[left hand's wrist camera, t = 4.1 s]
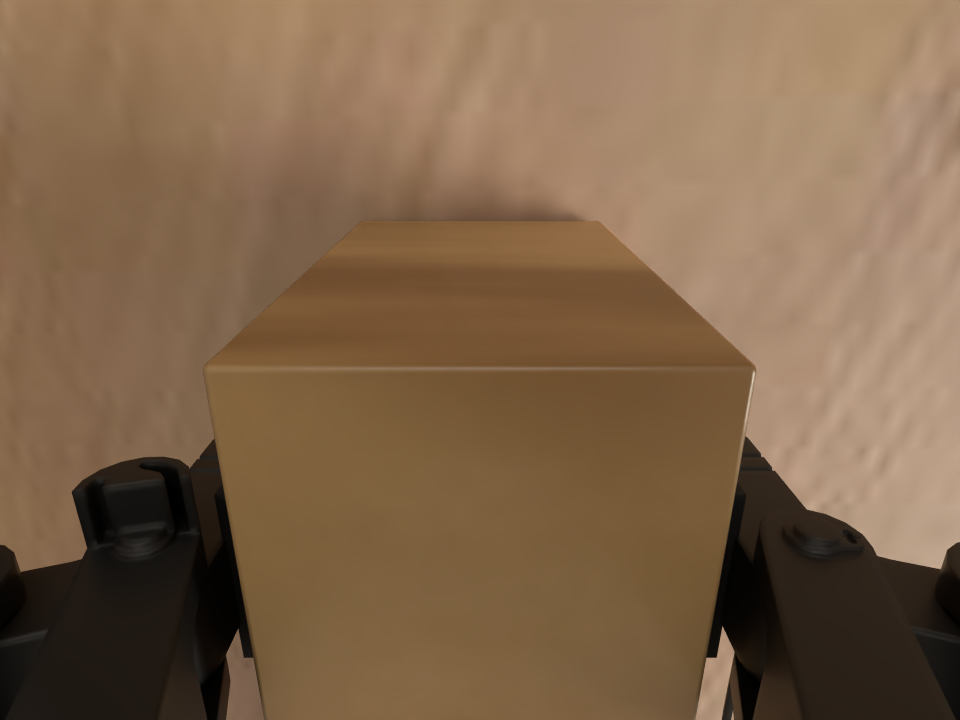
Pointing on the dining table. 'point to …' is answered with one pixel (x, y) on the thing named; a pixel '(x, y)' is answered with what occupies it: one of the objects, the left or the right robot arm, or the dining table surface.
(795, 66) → the dining table surface
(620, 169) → the dining table surface
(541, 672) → the bar
